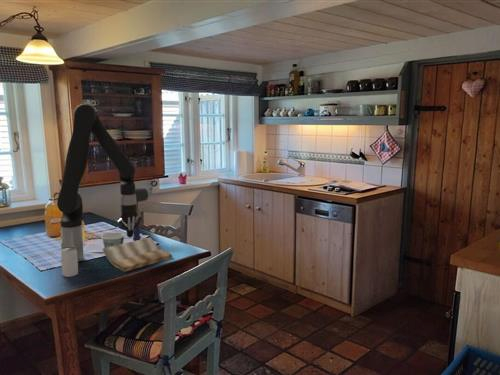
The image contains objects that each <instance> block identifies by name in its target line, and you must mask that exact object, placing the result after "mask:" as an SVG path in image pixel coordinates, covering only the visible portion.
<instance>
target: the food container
mask: <svg viewBox="0 0 500 375" xmlns="http://www.w3.org/2000/svg"><path fill="white" fill-rule="evenodd" d="M125 236H126V234H125V233H124V232H119V231H118V232H116V231H114V232H107V233H104V234H102V235H101V239H102V243H103V248H107V247H111V246H115V245H120V244H124V241H125Z"/></svg>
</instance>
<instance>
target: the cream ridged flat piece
mask: <svg viewBox="0 0 500 375" xmlns="http://www.w3.org/2000/svg"><path fill="white" fill-rule="evenodd" d="M160 249H161V248H160V247H159V246H158V244H156V243H155V241H154V240H153V239H152V237H146V238H140V240H137V241H134V240H133V241H129V242H123V244H120V245H115V246H111V247H107V248H104V247H103V249H102V253H103V254H104V256H105V257H106V259H107V260H108V261H109V262H110V264H111V265H112V266H113V262H114V261H118V260H122V259H126V258H130V257H133V256H137V255H141V254H145V253H149V252H152V251H156V250H160Z"/></svg>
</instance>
